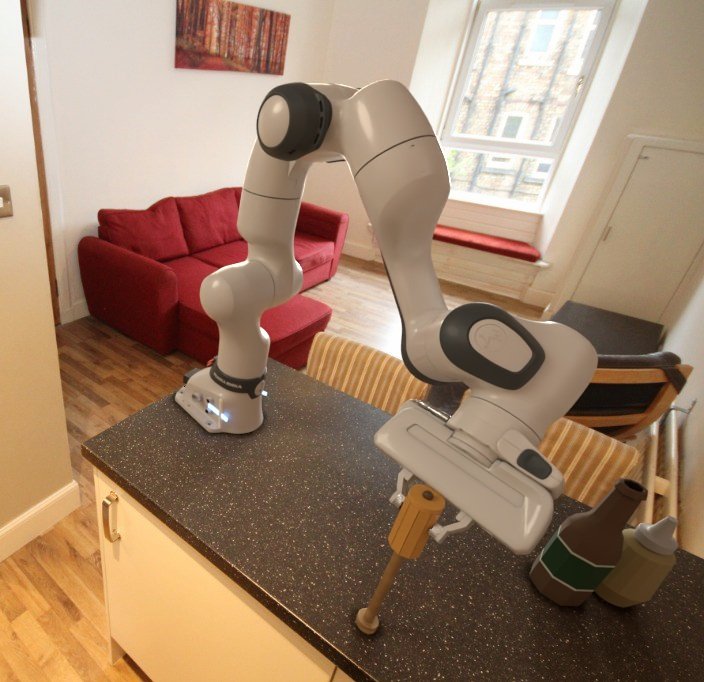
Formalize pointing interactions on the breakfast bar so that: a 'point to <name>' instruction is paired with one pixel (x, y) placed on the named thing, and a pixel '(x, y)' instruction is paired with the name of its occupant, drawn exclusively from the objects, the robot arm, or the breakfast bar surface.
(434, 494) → the cylinder
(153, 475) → the breakfast bar surface
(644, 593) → the squeeze bottle
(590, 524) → the beer bottle
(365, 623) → the brown wooden rod
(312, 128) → the robot arm
